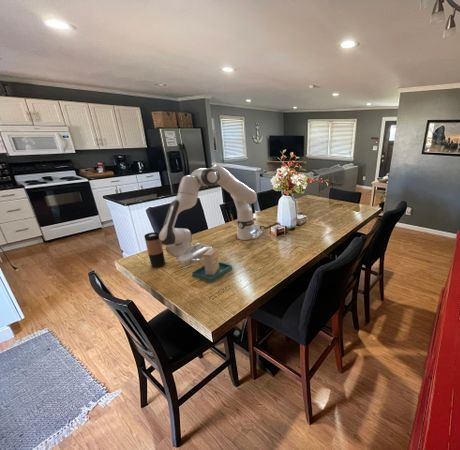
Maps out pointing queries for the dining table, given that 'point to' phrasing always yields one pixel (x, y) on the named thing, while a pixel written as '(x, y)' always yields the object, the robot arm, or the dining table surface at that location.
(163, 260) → the travel mug
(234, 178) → the robot arm
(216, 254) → the supplement box
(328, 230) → the dining table surface
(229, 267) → the tray
